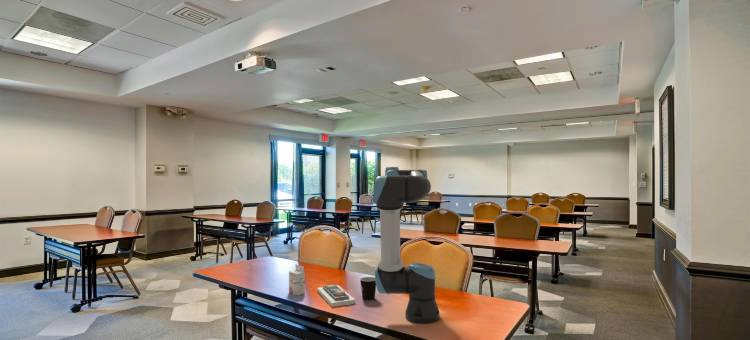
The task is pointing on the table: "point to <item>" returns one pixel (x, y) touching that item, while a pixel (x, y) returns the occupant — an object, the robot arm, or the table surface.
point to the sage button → (330, 286)
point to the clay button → (339, 293)
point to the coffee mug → (368, 288)
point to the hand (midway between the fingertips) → (392, 237)
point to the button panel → (335, 297)
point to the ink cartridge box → (297, 281)
